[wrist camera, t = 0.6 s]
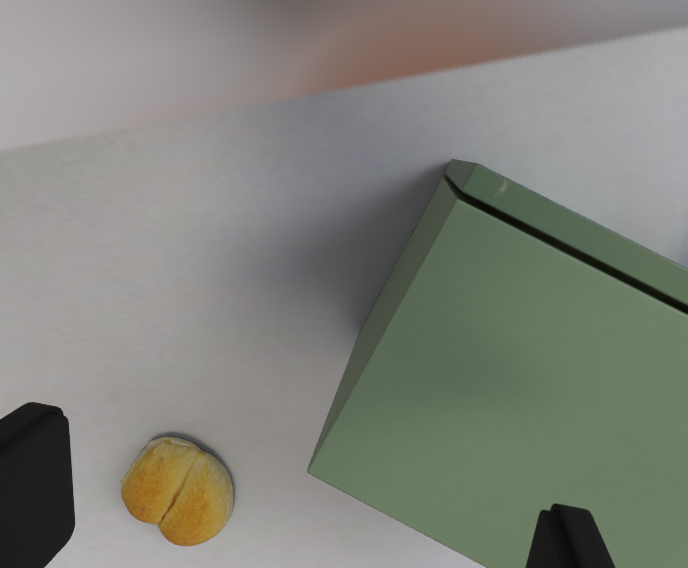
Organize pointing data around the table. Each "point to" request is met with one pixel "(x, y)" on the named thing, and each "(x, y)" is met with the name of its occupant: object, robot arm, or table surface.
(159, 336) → the table surface
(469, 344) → the cupboard
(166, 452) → the bread roll
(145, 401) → the table surface
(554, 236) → the cupboard door
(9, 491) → the robot arm
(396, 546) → the table surface
